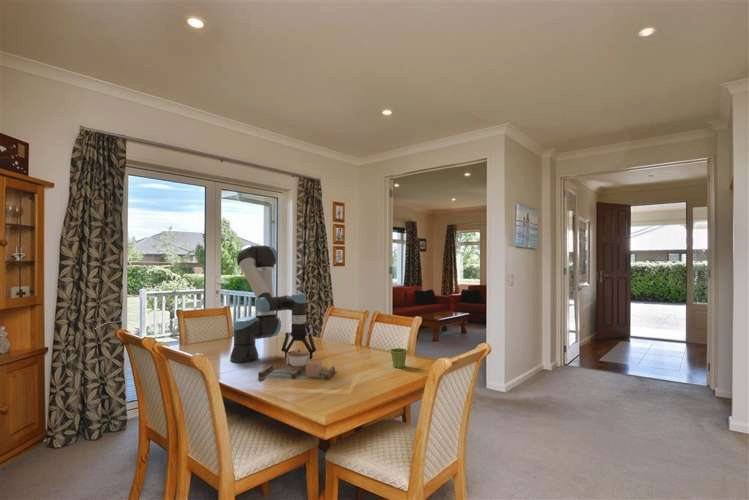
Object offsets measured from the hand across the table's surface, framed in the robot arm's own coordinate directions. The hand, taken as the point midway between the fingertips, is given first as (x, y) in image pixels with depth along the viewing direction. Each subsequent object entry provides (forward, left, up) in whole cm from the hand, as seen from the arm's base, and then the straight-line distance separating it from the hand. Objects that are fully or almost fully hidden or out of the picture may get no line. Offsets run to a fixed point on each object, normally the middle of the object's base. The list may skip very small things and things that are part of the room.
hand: (298, 365), depth 215 cm
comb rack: (+18, +5, -1) cm, 19 cm away
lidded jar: (0, 0, -1) cm, 1 cm away
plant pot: (-7, +52, -1) cm, 52 cm away
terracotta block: (+18, +13, 0) cm, 22 cm away
